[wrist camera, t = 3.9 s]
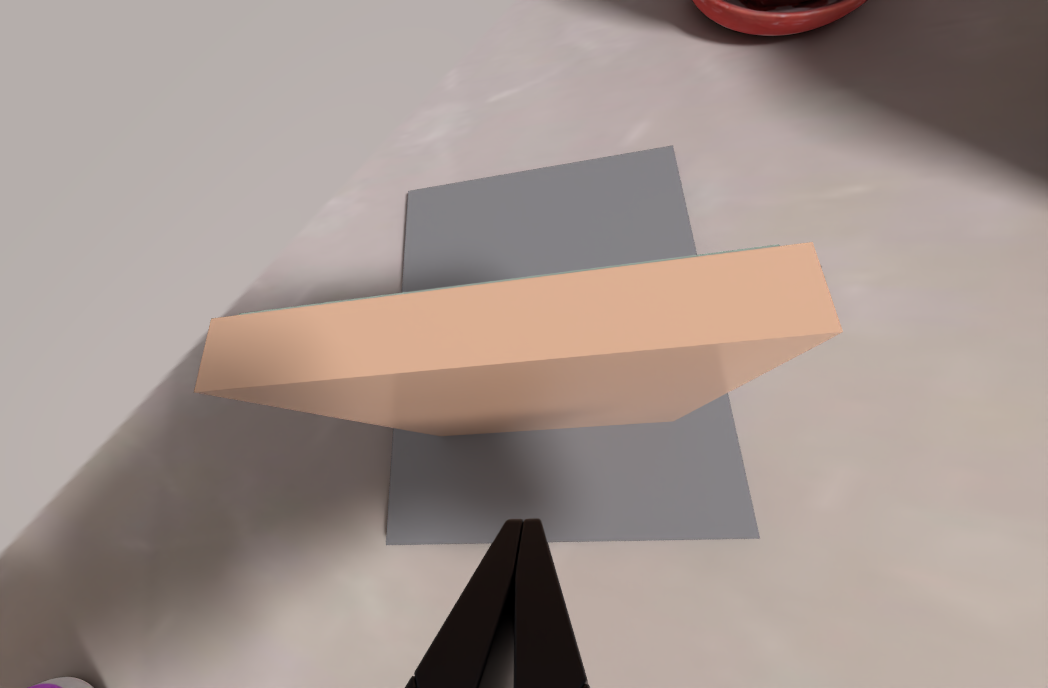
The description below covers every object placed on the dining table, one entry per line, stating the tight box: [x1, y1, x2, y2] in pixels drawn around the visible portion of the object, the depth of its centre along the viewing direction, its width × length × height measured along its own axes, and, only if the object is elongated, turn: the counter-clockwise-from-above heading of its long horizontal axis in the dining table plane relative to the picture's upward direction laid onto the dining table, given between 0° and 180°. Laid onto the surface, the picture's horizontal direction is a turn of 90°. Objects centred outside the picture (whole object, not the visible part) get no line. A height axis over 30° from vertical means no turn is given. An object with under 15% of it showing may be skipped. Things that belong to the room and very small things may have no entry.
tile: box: [194, 242, 843, 436], centre depth 12 cm, size 2×11×12 cm, turn 93°
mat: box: [386, 146, 760, 545], centre depth 19 cm, size 20×16×1 cm
